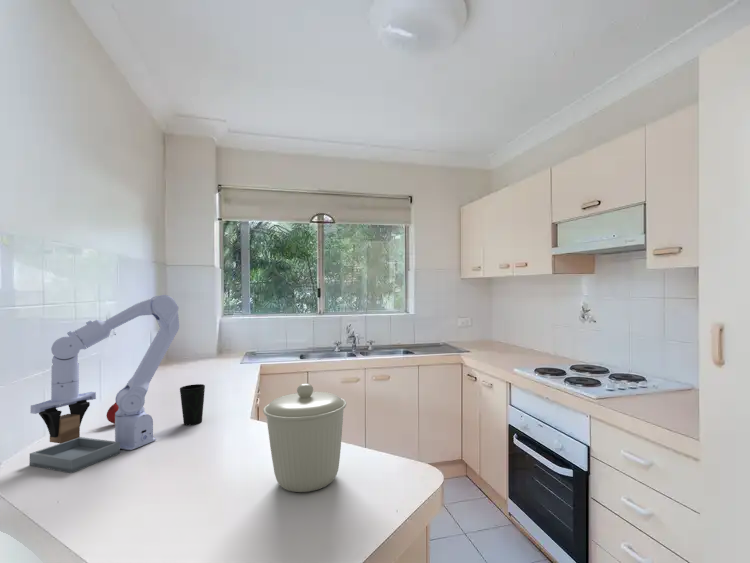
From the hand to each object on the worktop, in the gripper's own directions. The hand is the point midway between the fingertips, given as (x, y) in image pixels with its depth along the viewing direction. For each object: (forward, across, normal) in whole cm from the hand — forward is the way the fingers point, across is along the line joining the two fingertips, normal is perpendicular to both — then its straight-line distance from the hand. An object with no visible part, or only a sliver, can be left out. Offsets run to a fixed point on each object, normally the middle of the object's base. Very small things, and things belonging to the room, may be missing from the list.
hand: (65, 433), depth 100 cm
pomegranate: (+7, -24, -14) cm, 29 cm away
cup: (+7, -32, +10) cm, 35 cm away
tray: (+7, 0, +4) cm, 7 cm away
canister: (+7, -6, +70) cm, 70 cm away
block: (+2, 0, 0) cm, 2 cm away
